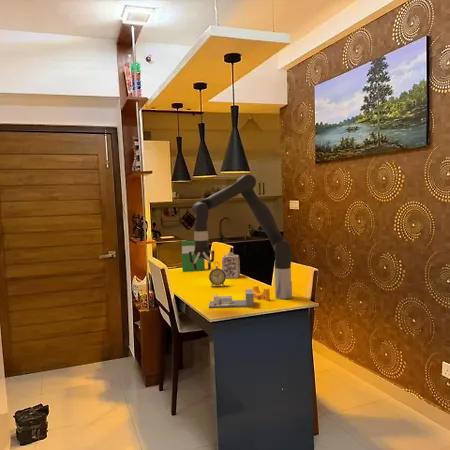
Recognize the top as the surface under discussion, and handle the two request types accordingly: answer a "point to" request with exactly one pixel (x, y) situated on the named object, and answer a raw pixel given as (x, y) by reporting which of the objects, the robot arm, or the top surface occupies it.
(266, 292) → the pipe clamp
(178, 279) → the top surface
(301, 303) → the top surface
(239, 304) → the base
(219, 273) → the alarm clock
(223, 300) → the block
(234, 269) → the decorative jar
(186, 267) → the hardback book
